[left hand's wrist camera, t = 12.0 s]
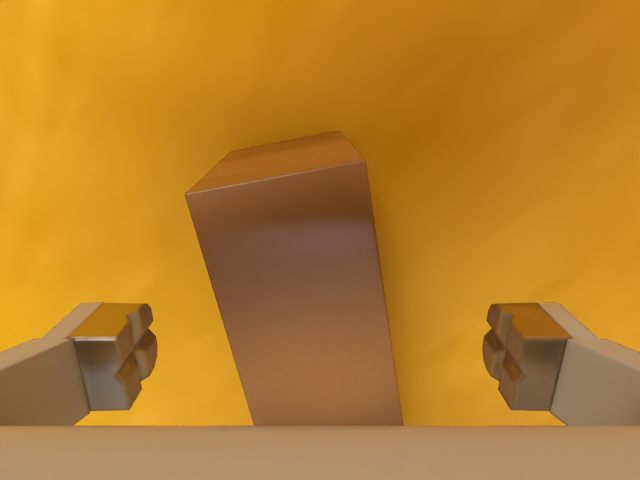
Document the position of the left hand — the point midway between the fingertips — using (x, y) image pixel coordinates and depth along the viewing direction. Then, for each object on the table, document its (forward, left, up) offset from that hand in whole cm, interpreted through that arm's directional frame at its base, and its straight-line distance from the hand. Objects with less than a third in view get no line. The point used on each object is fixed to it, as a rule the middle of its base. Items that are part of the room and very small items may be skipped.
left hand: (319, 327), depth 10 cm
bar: (+8, +4, -13) cm, 16 cm away
